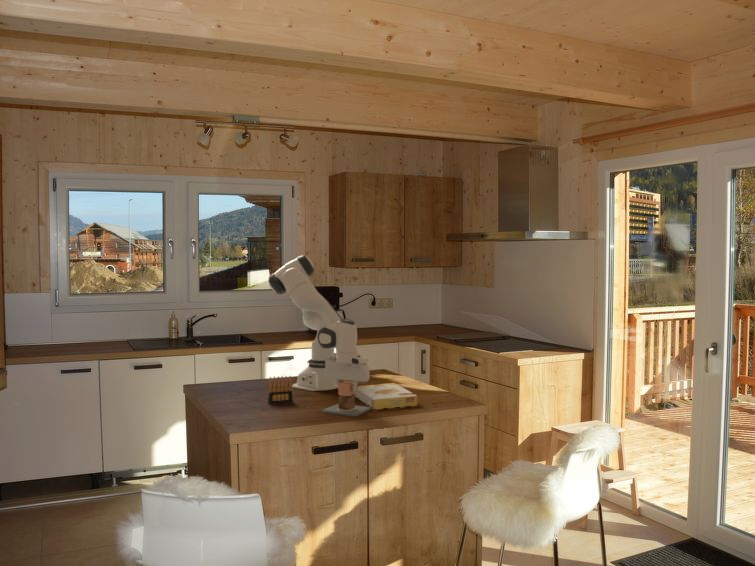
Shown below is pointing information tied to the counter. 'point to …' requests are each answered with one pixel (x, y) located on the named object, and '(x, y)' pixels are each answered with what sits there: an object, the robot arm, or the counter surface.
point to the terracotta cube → (345, 388)
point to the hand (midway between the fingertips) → (346, 390)
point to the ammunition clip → (280, 391)
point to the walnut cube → (346, 402)
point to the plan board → (353, 412)
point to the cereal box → (385, 396)
